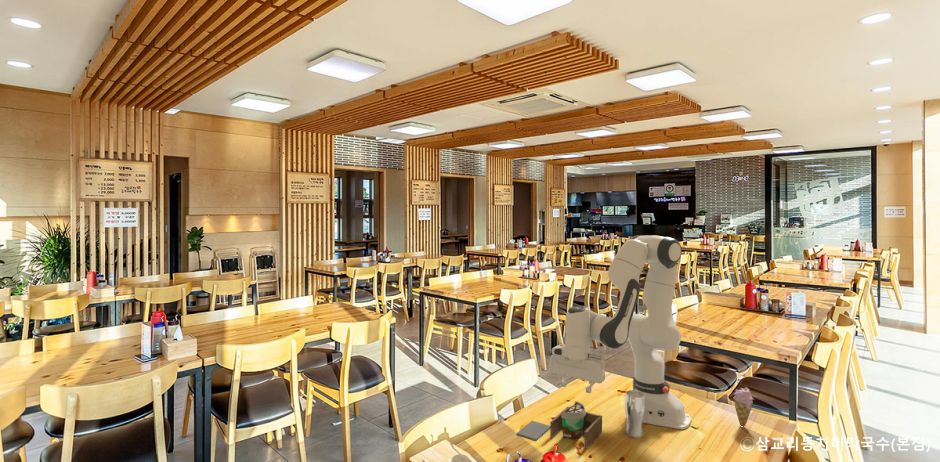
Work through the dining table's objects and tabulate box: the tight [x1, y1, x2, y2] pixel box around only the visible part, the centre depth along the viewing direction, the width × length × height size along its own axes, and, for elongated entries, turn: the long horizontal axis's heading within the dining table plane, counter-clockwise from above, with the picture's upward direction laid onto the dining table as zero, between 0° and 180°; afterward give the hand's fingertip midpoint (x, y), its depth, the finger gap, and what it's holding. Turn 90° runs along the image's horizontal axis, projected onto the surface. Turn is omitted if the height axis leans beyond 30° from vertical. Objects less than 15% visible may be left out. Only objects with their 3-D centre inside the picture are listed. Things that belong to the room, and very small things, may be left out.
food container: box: [561, 400, 587, 440], centre depth 166 cm, size 12×6×10 cm, turn 143°
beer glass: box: [624, 389, 645, 439], centre depth 167 cm, size 7×7×15 cm
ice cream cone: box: [732, 386, 755, 428], centre depth 172 cm, size 7×6×15 cm
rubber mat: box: [516, 420, 550, 441], centre depth 169 cm, size 8×12×1 cm, turn 145°
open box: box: [549, 406, 603, 450], centre depth 166 cm, size 14×15×6 cm
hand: (575, 389), depth 165 cm, fingers open, 8 cm apart
